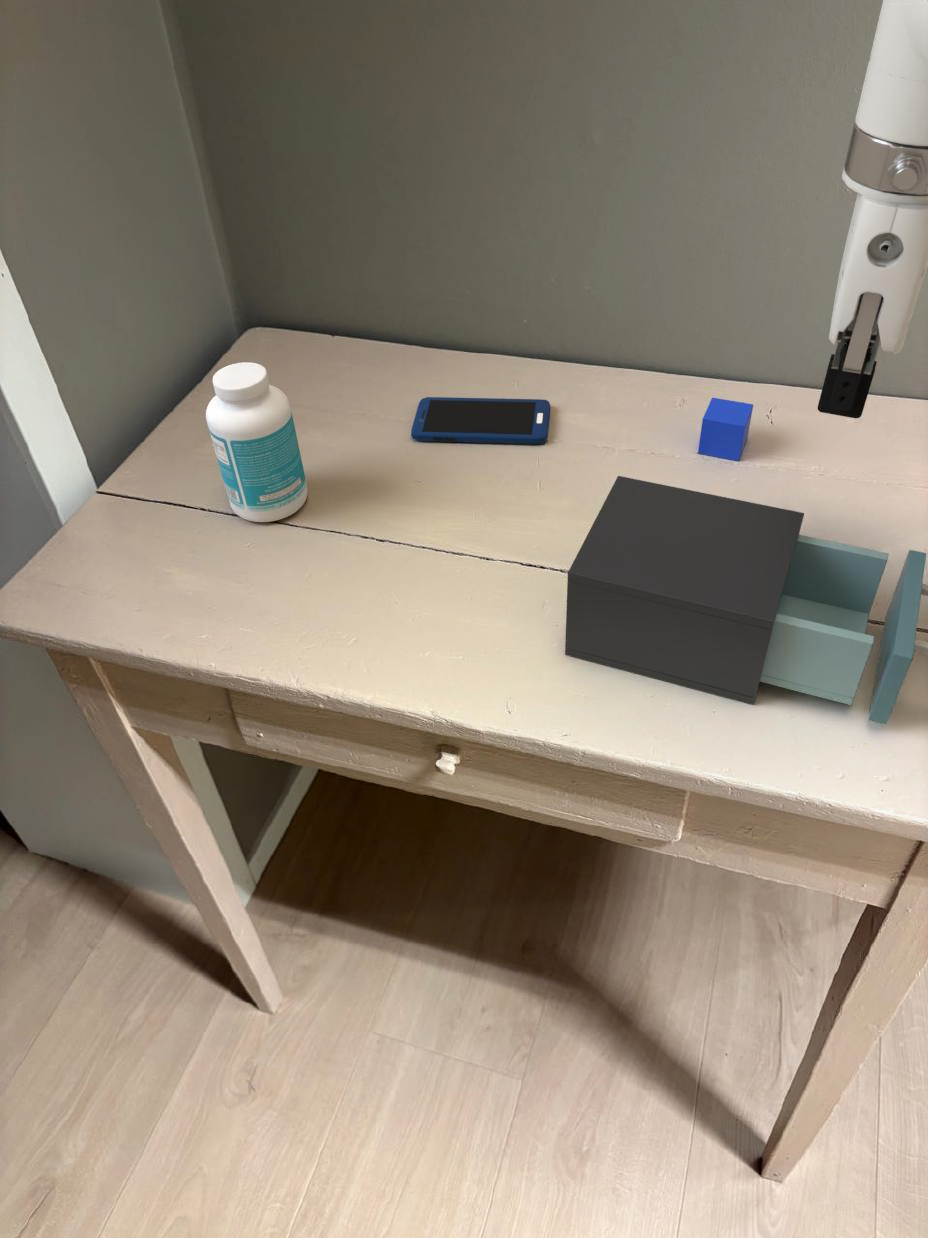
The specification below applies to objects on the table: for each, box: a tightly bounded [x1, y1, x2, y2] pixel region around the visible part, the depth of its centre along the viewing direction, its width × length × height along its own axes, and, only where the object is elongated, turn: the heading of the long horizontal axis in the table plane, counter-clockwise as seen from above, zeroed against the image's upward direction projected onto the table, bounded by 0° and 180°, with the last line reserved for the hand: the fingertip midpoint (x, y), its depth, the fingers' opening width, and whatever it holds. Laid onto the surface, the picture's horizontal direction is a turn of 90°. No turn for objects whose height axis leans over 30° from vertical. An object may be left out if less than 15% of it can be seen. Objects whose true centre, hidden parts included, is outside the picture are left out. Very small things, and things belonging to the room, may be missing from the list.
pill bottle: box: [205, 361, 309, 523], centre depth 87 cm, size 8×7×14 cm
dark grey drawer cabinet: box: [564, 475, 805, 705], centre depth 74 cm, size 15×13×9 cm
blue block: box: [697, 397, 754, 462], centre depth 93 cm, size 4×4×4 cm
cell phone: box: [410, 396, 552, 445], centre depth 99 cm, size 7×14×1 cm, turn 83°
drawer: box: [760, 534, 928, 725], centre depth 70 cm, size 18×11×7 cm, turn 67°
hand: (839, 409), depth 73 cm, fingers closed
